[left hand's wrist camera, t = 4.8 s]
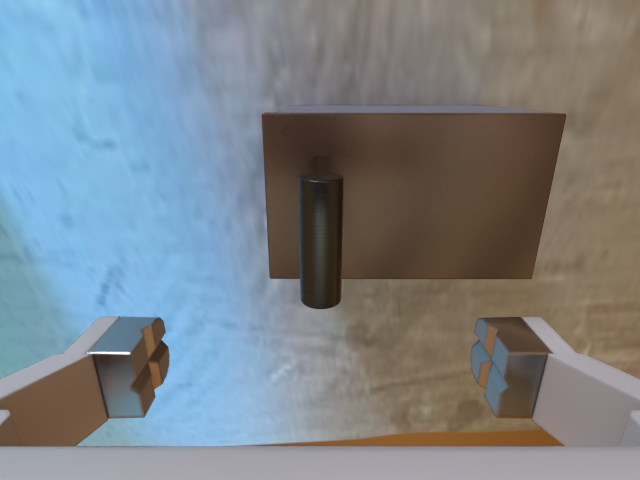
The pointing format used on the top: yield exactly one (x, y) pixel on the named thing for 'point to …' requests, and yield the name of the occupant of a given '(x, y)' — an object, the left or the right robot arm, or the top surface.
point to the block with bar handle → (405, 196)
